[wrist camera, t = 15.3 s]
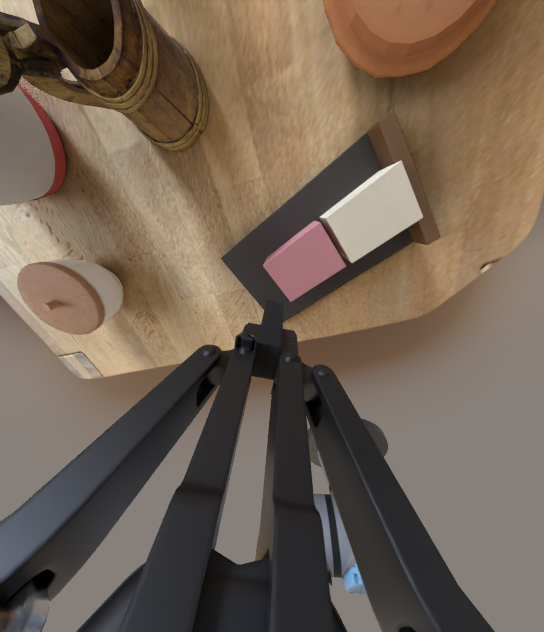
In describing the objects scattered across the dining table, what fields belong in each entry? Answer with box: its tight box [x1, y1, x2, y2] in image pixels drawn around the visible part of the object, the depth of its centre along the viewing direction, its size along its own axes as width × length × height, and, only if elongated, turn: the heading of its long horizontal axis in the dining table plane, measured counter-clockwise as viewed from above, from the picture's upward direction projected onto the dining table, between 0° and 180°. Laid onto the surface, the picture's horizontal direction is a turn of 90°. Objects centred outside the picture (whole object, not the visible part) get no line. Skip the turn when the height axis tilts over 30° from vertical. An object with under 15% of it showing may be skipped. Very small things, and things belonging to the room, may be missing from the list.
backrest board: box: [221, 109, 440, 322], centre depth 26 cm, size 14×24×4 cm, turn 127°
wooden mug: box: [0, 0, 208, 151], centre depth 15 cm, size 9×14×18 cm, turn 109°
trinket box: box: [17, 259, 123, 335], centre depth 29 cm, size 11×11×9 cm
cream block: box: [319, 161, 423, 263], centre depth 23 cm, size 6×8×5 cm
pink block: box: [263, 221, 346, 302], centre depth 25 cm, size 6×8×5 cm
